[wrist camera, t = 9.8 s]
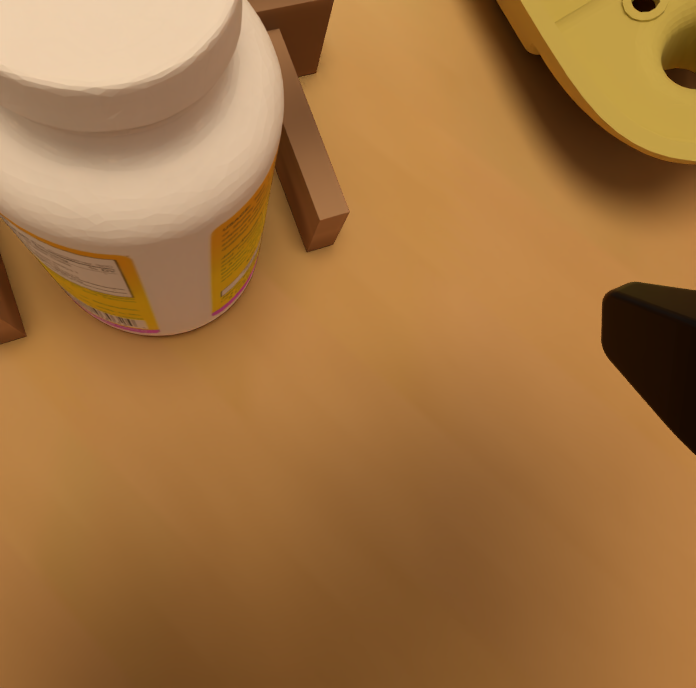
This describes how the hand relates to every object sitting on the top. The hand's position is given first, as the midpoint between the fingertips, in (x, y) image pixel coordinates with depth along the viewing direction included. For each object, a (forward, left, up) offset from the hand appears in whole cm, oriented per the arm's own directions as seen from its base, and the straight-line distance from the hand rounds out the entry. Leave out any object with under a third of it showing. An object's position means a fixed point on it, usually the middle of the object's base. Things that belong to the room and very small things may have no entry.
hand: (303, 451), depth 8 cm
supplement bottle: (+5, +6, -14) cm, 16 cm away
